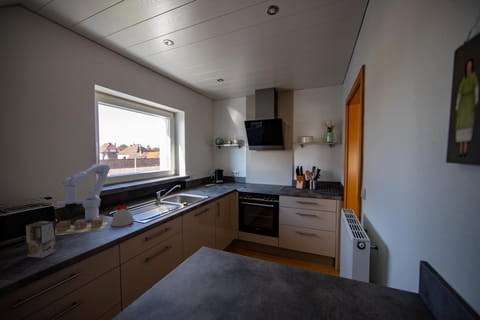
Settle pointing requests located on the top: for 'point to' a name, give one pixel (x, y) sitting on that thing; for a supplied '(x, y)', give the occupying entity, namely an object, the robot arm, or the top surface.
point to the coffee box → (40, 239)
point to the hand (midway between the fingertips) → (71, 214)
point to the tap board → (81, 229)
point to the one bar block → (80, 224)
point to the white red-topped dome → (122, 217)
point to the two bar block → (96, 222)
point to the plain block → (62, 226)
